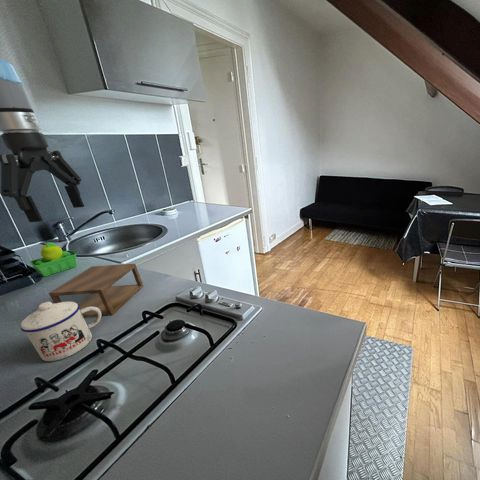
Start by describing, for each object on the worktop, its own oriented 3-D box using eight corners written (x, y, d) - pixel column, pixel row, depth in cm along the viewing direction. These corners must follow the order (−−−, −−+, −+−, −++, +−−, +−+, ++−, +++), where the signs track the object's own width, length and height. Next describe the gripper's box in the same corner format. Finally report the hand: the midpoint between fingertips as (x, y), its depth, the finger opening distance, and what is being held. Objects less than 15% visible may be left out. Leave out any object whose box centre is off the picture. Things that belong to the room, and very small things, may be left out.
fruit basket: (76, 261, 102) (63, 234, 97) (83, 266, 97) (70, 238, 92) (35, 274, 93) (19, 245, 89) (41, 280, 88) (24, 250, 84)
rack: (62, 318, 68) (48, 293, 65) (101, 288, 81) (91, 266, 78) (112, 315, 68) (100, 289, 65) (143, 286, 81) (135, 263, 78)
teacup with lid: (41, 370, 53) (11, 325, 48) (39, 348, 58) (13, 306, 54) (112, 337, 61) (93, 295, 56) (105, 320, 66) (86, 281, 62)
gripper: (-21, 131, 54) (29, 227, 62) (77, 131, 77) (104, 201, 85) (-59, 133, 53) (-3, 230, 62) (51, 132, 76) (81, 203, 85)
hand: (59, 213), depth 73 cm, fingers open, 13 cm apart
